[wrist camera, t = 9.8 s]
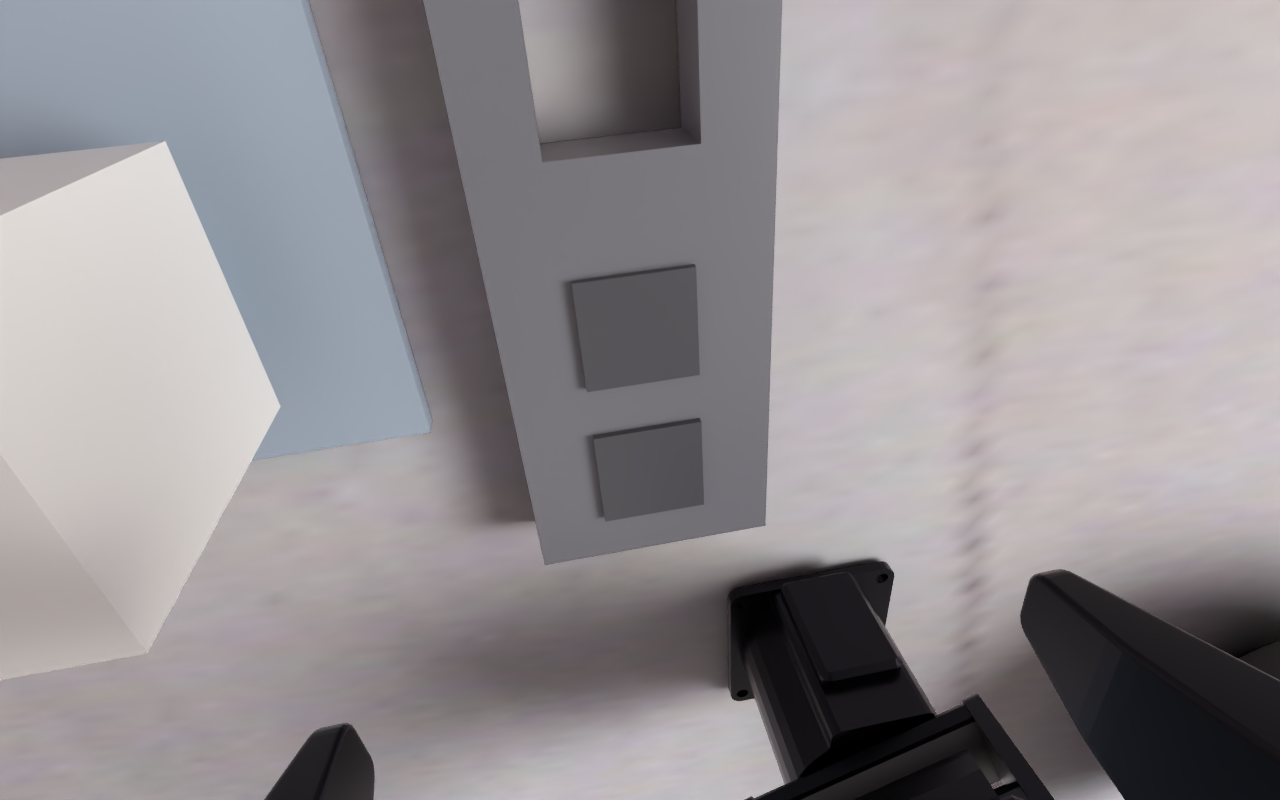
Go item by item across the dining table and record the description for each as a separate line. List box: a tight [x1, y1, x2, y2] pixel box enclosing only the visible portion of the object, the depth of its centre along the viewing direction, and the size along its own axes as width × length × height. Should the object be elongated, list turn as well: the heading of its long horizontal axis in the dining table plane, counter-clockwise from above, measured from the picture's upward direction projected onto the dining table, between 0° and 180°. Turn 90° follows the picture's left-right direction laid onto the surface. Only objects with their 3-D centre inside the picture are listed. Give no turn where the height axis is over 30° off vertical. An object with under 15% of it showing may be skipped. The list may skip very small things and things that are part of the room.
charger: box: [0, 141, 281, 680], centre depth 11 cm, size 6×4×10 cm
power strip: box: [423, 0, 782, 565], centre depth 15 cm, size 24×7×3 cm, turn 4°
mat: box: [0, 0, 432, 460], centre depth 16 cm, size 11×10×1 cm
